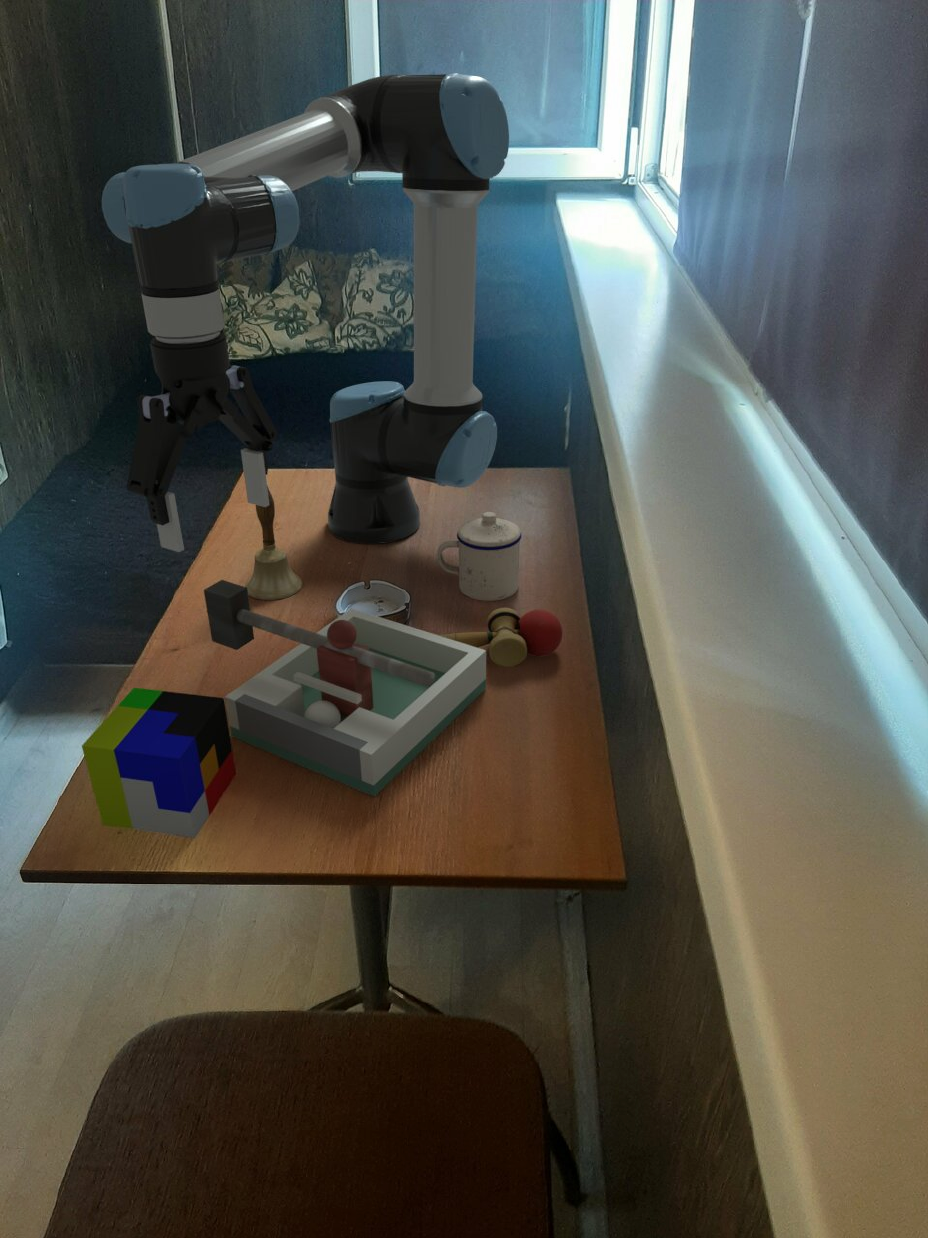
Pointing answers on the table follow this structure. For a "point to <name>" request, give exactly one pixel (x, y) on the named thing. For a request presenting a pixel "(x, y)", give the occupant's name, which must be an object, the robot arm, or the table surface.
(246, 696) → the pitch
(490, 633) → the kendama
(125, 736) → the puzzle toy
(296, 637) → the striker
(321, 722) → the ball
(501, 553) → the teacup with lid
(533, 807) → the table surface
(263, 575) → the hand bell
